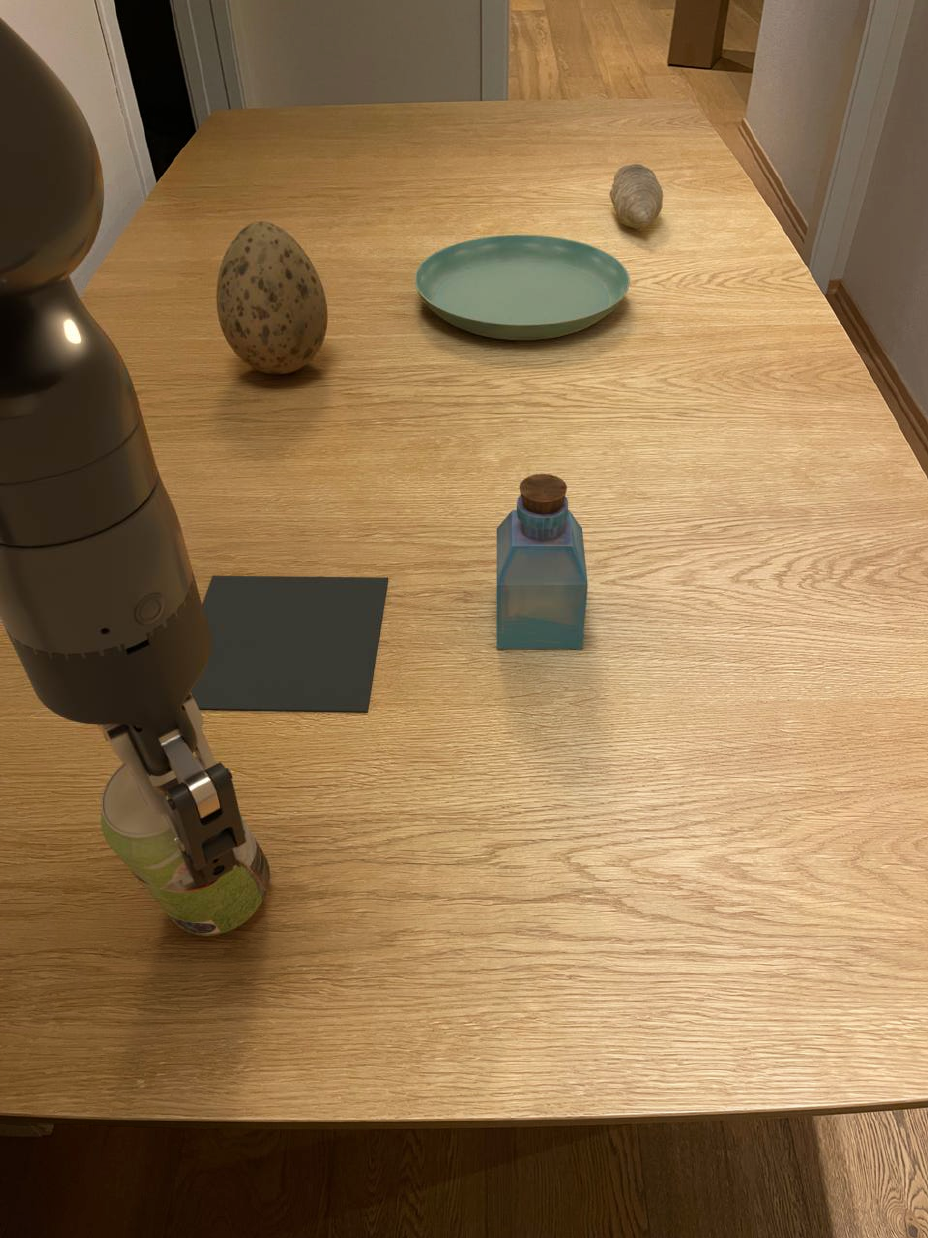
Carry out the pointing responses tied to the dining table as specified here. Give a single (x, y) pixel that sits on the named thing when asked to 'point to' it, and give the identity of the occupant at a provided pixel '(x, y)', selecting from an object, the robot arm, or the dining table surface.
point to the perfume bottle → (541, 570)
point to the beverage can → (179, 862)
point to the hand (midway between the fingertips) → (186, 827)
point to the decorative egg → (270, 300)
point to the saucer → (521, 286)
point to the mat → (291, 643)
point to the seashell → (636, 195)
